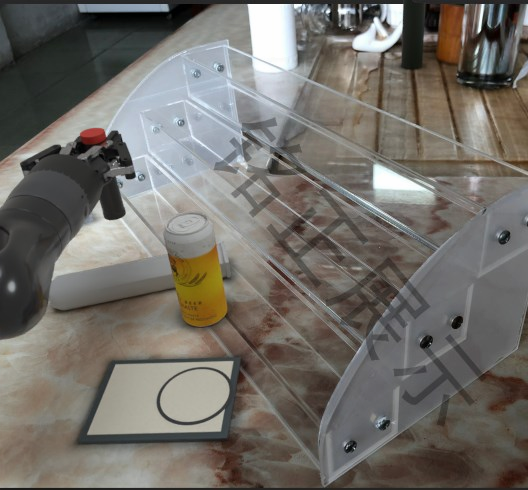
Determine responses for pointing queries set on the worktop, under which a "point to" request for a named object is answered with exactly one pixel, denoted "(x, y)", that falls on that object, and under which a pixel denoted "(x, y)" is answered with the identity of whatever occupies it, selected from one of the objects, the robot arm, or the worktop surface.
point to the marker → (110, 191)
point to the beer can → (195, 268)
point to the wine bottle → (412, 35)
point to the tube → (119, 281)
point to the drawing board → (164, 401)
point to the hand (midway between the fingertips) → (103, 137)
